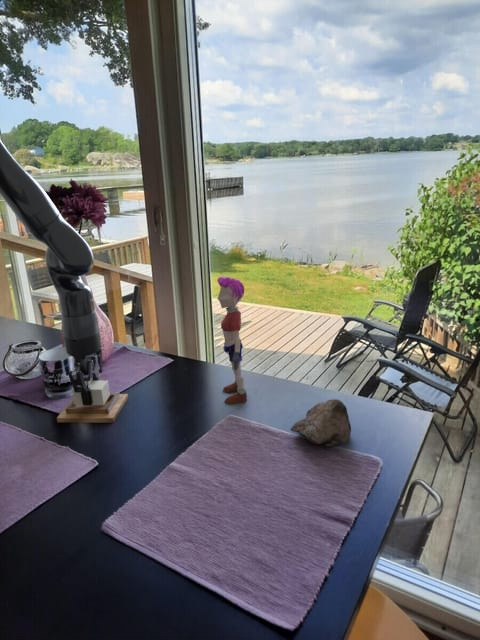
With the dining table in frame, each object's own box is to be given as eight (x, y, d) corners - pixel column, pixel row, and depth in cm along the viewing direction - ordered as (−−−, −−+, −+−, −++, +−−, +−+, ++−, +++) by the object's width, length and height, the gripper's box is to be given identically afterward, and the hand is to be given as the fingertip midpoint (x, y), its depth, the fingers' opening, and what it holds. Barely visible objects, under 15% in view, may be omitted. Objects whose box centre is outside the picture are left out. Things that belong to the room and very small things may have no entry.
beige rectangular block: (74, 404, 102) (71, 389, 100) (81, 395, 106) (79, 380, 104) (103, 405, 101) (101, 389, 100) (110, 395, 105) (108, 380, 104)
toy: (220, 381, 116) (214, 269, 106) (244, 379, 117) (240, 268, 106) (224, 413, 101) (218, 286, 91) (252, 410, 102) (248, 284, 92)
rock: (288, 436, 97) (275, 400, 93) (332, 412, 99) (322, 376, 95) (317, 472, 85) (304, 433, 81) (366, 444, 88) (356, 405, 84)
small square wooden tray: (57, 422, 100) (55, 413, 99) (77, 397, 110) (75, 389, 109) (113, 422, 99) (112, 413, 98) (128, 398, 109) (127, 389, 108)
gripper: (77, 320, 105) (88, 384, 110) (50, 343, 91) (63, 415, 97) (108, 320, 104) (117, 384, 110) (85, 343, 91) (96, 415, 96)
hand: (92, 398), depth 103 cm, fingers closed on beige rectangular block, 4 cm apart
